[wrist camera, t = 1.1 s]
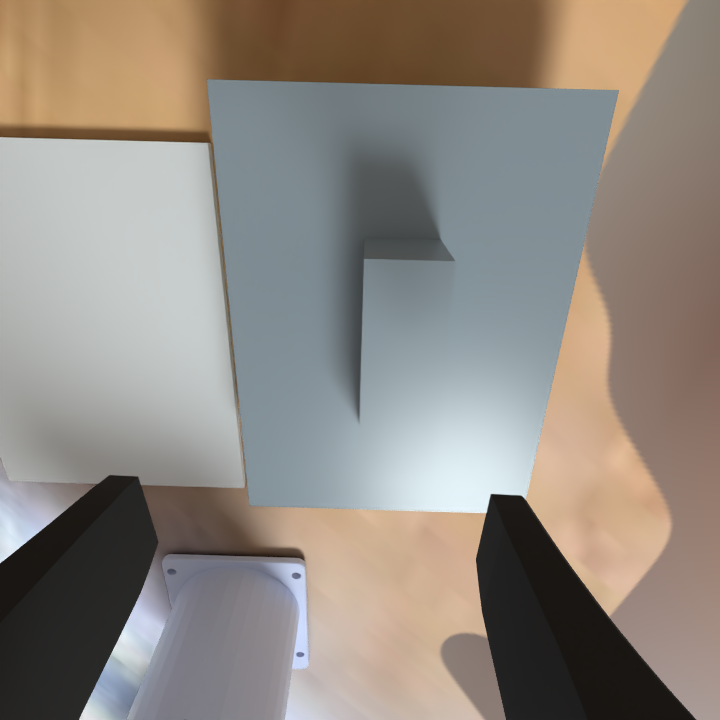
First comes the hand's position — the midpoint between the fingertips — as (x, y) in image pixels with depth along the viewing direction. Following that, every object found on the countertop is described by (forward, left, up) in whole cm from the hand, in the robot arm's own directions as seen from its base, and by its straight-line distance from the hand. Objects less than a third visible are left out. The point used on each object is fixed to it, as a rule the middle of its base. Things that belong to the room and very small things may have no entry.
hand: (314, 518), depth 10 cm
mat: (-1, +11, -12) cm, 16 cm away
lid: (+1, -2, -9) cm, 9 cm away
